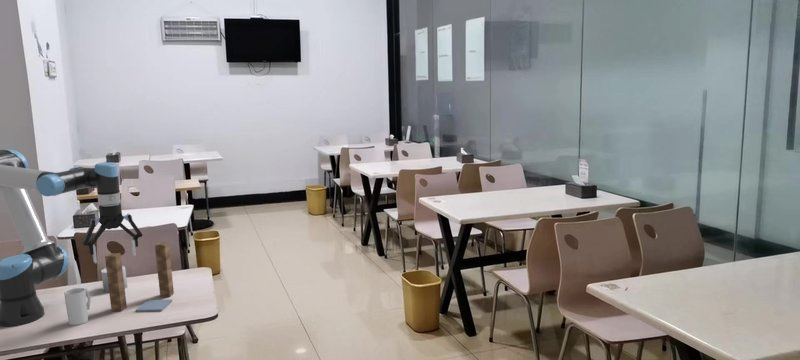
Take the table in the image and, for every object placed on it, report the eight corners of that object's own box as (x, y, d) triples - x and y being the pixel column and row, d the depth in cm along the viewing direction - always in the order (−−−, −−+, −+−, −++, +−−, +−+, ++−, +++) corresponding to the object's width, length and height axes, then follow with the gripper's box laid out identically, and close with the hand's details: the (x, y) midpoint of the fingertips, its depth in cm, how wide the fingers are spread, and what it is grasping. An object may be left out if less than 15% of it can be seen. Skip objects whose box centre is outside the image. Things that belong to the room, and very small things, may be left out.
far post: (160, 297, 238) (154, 245, 234) (164, 293, 242) (159, 242, 238) (170, 296, 238) (164, 245, 234) (173, 293, 242) (168, 242, 238)
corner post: (111, 311, 225) (104, 256, 221) (116, 307, 229) (110, 253, 225) (121, 311, 225) (115, 256, 221) (126, 307, 228) (120, 253, 225)
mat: (135, 311, 223) (135, 309, 223) (147, 301, 233) (147, 300, 233) (161, 311, 223) (161, 309, 223) (172, 301, 233) (172, 299, 233)
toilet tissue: (124, 280, 260) (122, 262, 258) (128, 289, 249) (126, 270, 247) (101, 284, 255) (99, 266, 254) (104, 293, 244) (102, 274, 242)
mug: (79, 326, 211) (74, 295, 209) (63, 325, 213) (59, 293, 211) (99, 315, 221) (95, 285, 219) (84, 314, 223) (81, 284, 220)
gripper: (73, 210, 207) (79, 267, 211) (147, 201, 222) (152, 254, 225) (70, 207, 213) (76, 262, 216) (142, 198, 227) (147, 250, 231)
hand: (115, 258), depth 221 cm, fingers open, 13 cm apart
